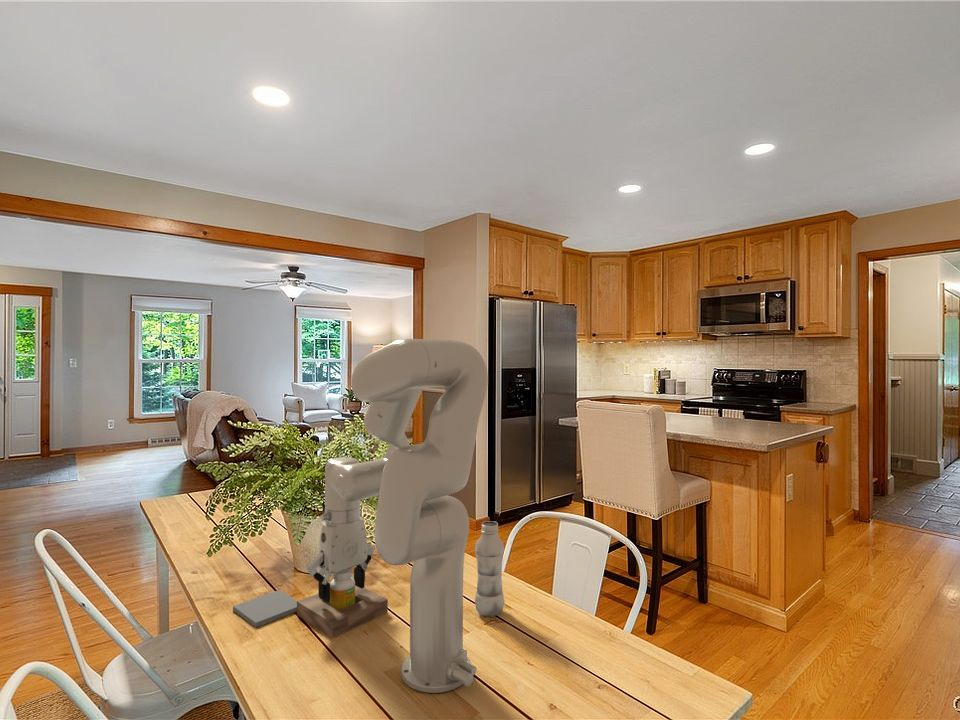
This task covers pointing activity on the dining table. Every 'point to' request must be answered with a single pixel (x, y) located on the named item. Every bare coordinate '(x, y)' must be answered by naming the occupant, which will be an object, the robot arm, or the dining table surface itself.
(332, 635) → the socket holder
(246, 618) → the grey pad
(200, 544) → the dining table surface
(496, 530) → the plastic bottle
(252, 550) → the dining table surface
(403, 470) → the robot arm
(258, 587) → the dining table surface
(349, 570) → the supplement bottle
